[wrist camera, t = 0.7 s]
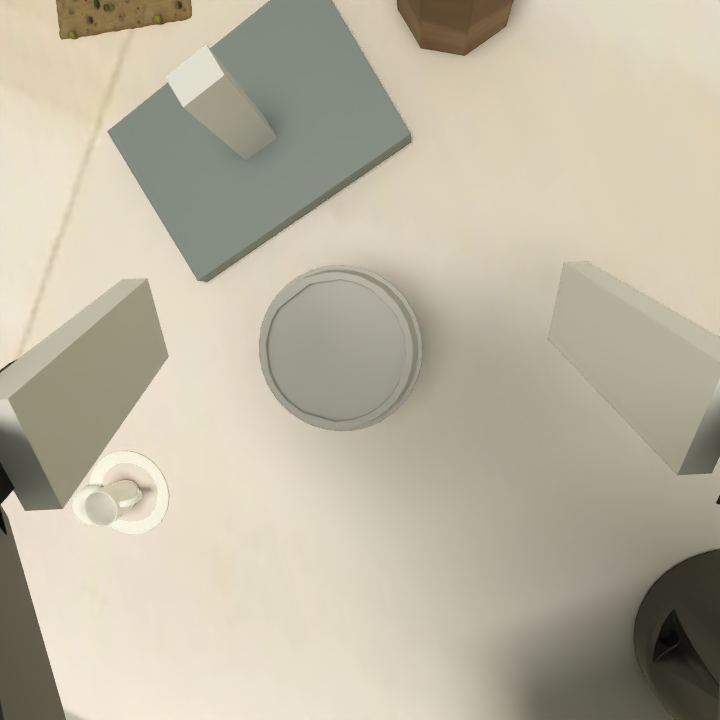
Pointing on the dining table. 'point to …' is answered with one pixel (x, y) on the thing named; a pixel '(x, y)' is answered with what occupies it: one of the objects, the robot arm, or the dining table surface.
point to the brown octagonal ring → (454, 22)
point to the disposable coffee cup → (340, 348)
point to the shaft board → (288, 170)
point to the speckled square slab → (116, 15)
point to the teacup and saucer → (119, 496)
